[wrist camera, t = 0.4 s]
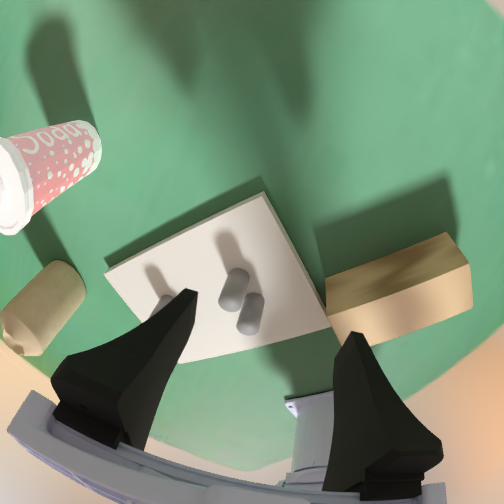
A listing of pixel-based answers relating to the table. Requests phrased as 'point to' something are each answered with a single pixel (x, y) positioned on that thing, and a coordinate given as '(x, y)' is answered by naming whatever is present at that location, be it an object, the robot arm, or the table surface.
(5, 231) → the beverage cup
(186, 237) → the peg base
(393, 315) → the tan rectangular block
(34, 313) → the candle
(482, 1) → the table surface
